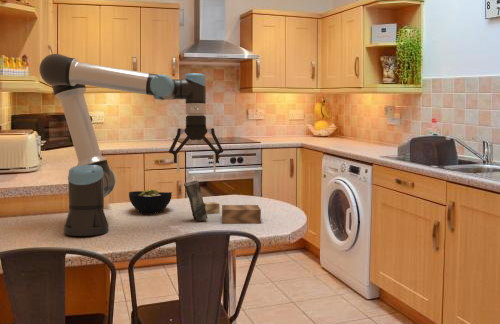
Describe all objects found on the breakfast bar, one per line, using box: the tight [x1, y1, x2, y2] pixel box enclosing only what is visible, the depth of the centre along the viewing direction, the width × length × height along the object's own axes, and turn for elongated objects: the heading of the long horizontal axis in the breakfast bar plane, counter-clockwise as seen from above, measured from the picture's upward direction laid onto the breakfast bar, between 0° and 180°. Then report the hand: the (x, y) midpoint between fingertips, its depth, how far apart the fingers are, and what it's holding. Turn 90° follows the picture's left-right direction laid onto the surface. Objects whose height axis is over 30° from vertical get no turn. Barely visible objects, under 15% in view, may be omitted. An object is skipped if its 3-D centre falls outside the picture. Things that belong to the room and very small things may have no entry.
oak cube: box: [204, 201, 221, 215], centre depth 219 cm, size 5×5×5 cm
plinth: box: [221, 204, 262, 225], centre depth 206 cm, size 14×14×5 cm
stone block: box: [183, 179, 208, 222], centre depth 205 cm, size 9×14×5 cm
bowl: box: [128, 189, 173, 215], centre depth 221 cm, size 17×17×10 cm
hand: (196, 172), depth 204 cm, fingers open, 13 cm apart
